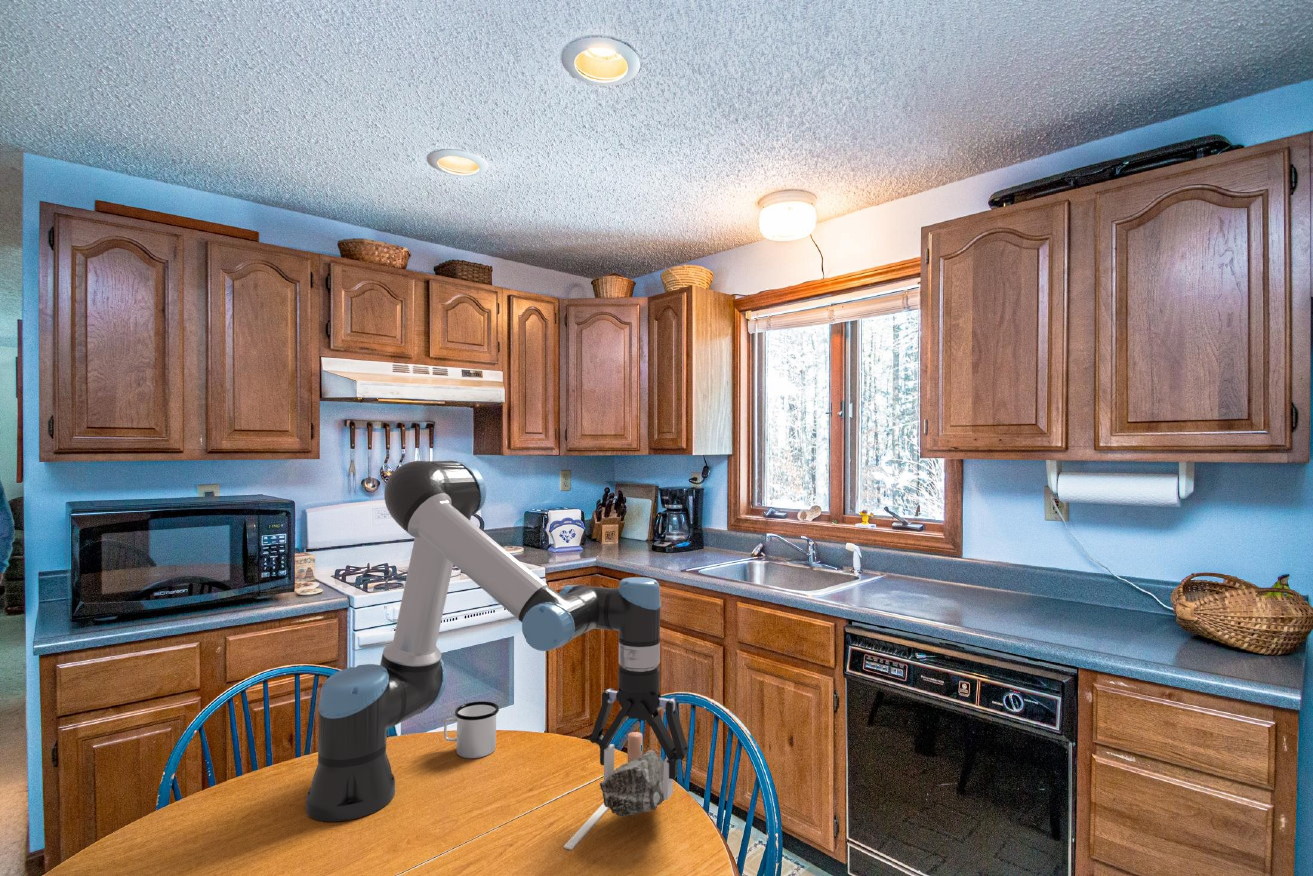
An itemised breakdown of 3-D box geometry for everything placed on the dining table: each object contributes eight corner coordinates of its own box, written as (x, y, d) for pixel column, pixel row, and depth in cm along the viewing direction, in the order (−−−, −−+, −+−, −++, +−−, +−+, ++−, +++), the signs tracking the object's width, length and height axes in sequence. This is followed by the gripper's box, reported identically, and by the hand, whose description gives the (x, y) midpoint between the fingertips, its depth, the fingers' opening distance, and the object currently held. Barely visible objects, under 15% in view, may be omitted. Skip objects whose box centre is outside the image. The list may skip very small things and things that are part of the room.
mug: (503, 742, 147) (504, 701, 147) (490, 761, 137) (491, 718, 138) (452, 740, 148) (453, 700, 148) (435, 759, 138) (436, 716, 139)
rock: (669, 817, 106) (630, 767, 107) (624, 852, 107) (586, 802, 108) (677, 766, 124) (644, 724, 125) (639, 797, 125) (606, 755, 126)
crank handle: (556, 846, 107) (556, 796, 107) (629, 768, 135) (629, 729, 135) (579, 852, 105) (580, 802, 106) (648, 772, 133) (649, 732, 133)
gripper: (572, 663, 118) (570, 786, 117) (693, 680, 109) (693, 813, 108) (591, 652, 125) (589, 768, 124) (707, 667, 116) (706, 792, 115)
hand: (638, 789), depth 116 cm, fingers closed on rock, 11 cm apart
